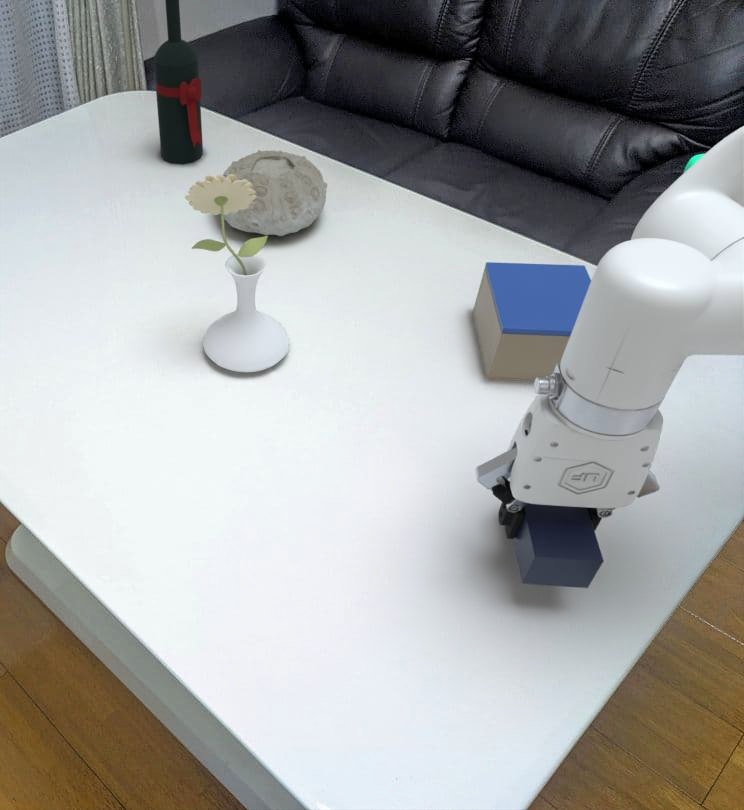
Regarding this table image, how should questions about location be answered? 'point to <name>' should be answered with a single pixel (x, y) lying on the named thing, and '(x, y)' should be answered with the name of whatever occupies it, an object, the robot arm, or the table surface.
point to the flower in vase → (238, 285)
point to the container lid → (537, 296)
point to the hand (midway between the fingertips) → (543, 527)
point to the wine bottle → (178, 94)
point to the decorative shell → (278, 193)
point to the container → (512, 345)
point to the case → (557, 546)
